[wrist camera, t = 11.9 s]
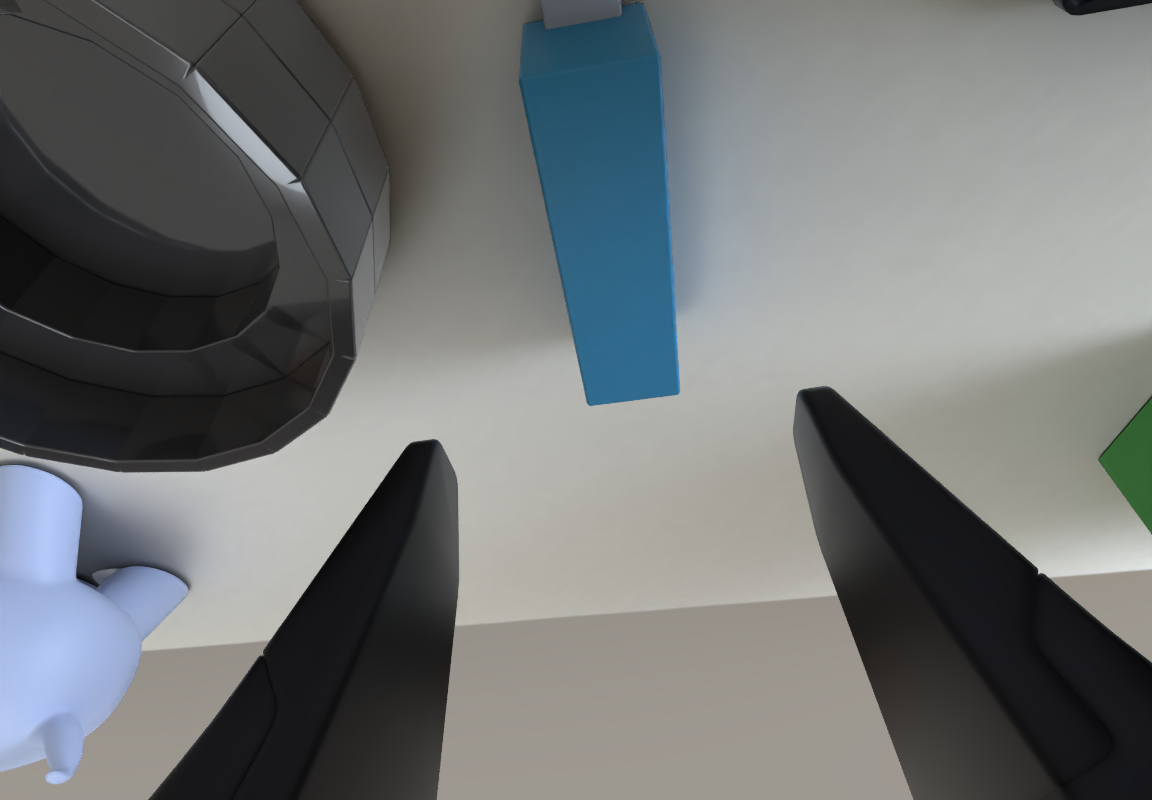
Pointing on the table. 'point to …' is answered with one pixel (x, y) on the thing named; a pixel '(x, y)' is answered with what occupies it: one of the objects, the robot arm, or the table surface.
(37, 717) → the hippopotamus toy
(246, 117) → the dark grey ramekin
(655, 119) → the fork
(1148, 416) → the hardback book
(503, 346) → the table surface
